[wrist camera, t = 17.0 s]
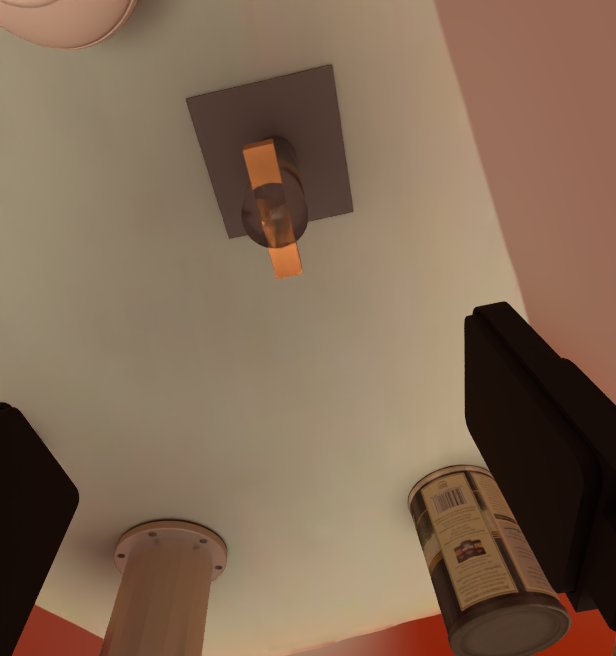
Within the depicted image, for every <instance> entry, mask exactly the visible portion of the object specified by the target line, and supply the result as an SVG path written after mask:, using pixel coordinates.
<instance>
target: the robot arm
mask: <svg viewBox="0 0 616 656" xmlns="http://www.w3.org/2000/svg"><path fill="white" fill-rule="evenodd" d="M464 340H465V419H466V424H467V427H468V430H469V432H470V434H471V436H472V438H473V440H474V442H475V444H476V445H477V447H478V449H479V451H480V453H481V455H482V457H483V459H484V461H485V463H486V464H487V466H488V468H489V470H490V472H491V474H492V476H493V478H494V480H495V482H496V483H497V485H498V487H499V489H500V491H501V493H502V495H503V497H504V499H505V501H506V502H507V504H508V506H509V508H510V510H511V512H512V514H513V516H514V518H515V520H516V521H517V523H518V525H519V527H520V529H521V531H522V533H523V535H524V537H525V539H526V540H527V542H528V544H529V546H530V548H531V550H532V552H533V554H534V556H535V558H536V559H537V561H538V563H539V565H540V567H541V569H542V571H543V573H544V575H545V577H546V578H547V580H548V582H549V584H550V586H551V587H552V588H553V590H554V591H555V592H556V593H566V595H567V597H568V599H569V601H570V602H571V604H572V606H573V607H574V610H575V611H576V612H581V611H587V610H593V609H599V611H600V613H601V615H602V616H603V618H604V619H605V621H606V623H607V624H608V626H609V628H610V629H612V630H614V631H616V405H615V404H614V403H613V402H612V401H611V400H610V399H609V398H608V397H607V396H606V395H605V394H604V393H603V392H602V391H601V390H600V389H599V388H598V387H597V386H596V385H595V384H594V383H593V382H592V381H591V380H590V379H589V378H588V377H587V376H586V375H585V374H584V373H583V372H582V371H581V370H580V369H579V368H578V367H577V366H576V365H575V364H574V363H573V362H571V361H570V360H568V359H565V358H560V356H559V355H558V354H557V353H556V352H555V351H554V350H553V349H552V348H551V347H550V346H549V345H548V344H547V343H546V342H545V341H544V340H543V339H542V338H541V337H540V336H539V335H538V334H537V333H536V332H535V331H534V330H533V328H532V327H531V326H530V325H529V324H528V323H527V322H526V321H525V320H524V319H523V318H522V317H521V316H520V315H519V314H518V313H517V312H516V311H515V310H514V309H513V308H512V307H511V306H510V305H509V304H508V303H507V302H498V303H493V304H488V305H483V306H478V307H475V308H474V310H473V315H470V316H467V317H466V318H465V323H464ZM78 503H79V493H78V490H77V488H76V486H75V485H74V484H73V482H72V481H71V479H70V478H69V477H68V475H67V474H66V473H65V471H64V470H63V469H62V467H61V466H60V465H59V463H58V462H57V460H56V459H55V458H54V456H53V455H52V454H51V452H50V451H49V450H48V448H47V447H46V446H45V444H44V443H43V441H42V440H41V439H40V437H39V436H38V435H37V433H36V432H35V431H34V429H33V428H32V427H31V425H30V424H29V422H28V421H27V420H26V418H25V417H24V416H23V414H22V413H21V412H20V411H19V410H18V409H17V408H15V407H12V406H11V405H9V404H7V403H3V402H0V656H12V654H13V651H14V649H15V647H16V645H17V642H18V640H19V638H20V635H21V633H22V631H23V628H24V626H25V624H26V622H27V620H28V617H29V615H30V613H31V610H32V608H33V606H34V604H35V602H36V599H37V597H38V595H39V592H40V590H41V588H42V586H43V583H44V581H45V579H46V577H47V574H48V572H49V570H50V568H51V565H52V563H53V561H54V559H55V556H56V554H57V552H58V549H59V547H60V545H61V543H62V540H63V538H64V536H65V534H66V531H67V529H68V527H69V525H70V522H71V520H72V518H73V515H74V513H75V511H76V509H77V506H78ZM114 562H115V564H116V567H117V568H118V570H119V571H120V572H121V573H122V574H123V577H122V580H121V583H120V587H119V590H118V594H117V597H116V600H115V604H114V607H113V611H112V614H111V617H110V621H109V624H108V627H107V631H106V634H105V638H104V641H103V645H102V648H101V651H100V655H99V656H202V648H203V640H204V632H205V624H206V616H207V609H208V608H207V607H208V599H209V591H210V583H211V581H213V580H215V579H216V578H217V577H218V576H220V575H221V573H222V572H223V571H224V569H225V566H226V563H227V549H226V546H225V545H224V543H223V541H222V540H221V539H220V538H219V537H218V536H217V535H215V534H214V533H213V532H211V531H210V530H208V529H206V528H204V527H201V526H198V525H195V524H192V523H187V522H180V521H158V522H151V523H147V524H144V525H140V526H138V527H136V528H134V529H131V530H130V531H128V532H127V533H126V534H124V535H123V536H122V538H121V539H120V540H119V542H118V544H117V546H116V550H115V553H114ZM613 656H616V639H615V646H614V653H613Z"/></svg>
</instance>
